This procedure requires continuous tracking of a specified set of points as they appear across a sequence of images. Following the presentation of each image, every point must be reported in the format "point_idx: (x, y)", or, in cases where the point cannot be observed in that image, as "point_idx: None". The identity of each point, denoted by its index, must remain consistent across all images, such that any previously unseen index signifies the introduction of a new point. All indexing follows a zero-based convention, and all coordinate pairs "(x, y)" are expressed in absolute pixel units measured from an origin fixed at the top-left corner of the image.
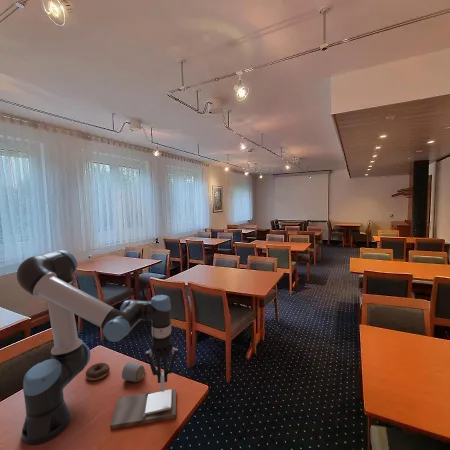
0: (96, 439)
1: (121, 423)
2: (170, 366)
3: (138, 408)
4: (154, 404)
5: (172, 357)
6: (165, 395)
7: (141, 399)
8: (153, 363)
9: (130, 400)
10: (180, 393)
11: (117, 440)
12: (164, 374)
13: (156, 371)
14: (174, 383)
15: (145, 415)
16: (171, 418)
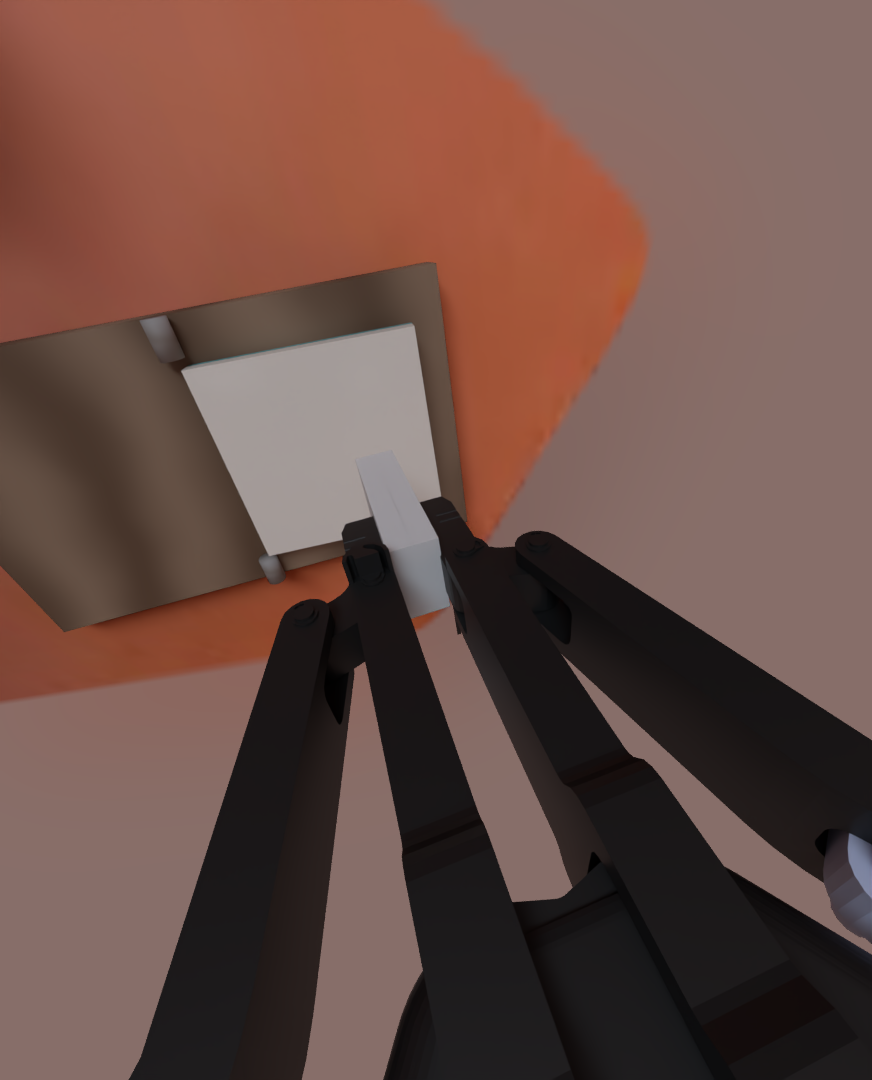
0: (44, 669)
1: (138, 611)
2: (591, 671)
3: (180, 498)
4: (310, 492)
5: (745, 814)
6: (374, 405)
7: (141, 405)
8: (320, 814)
9: (26, 419)
10: (467, 280)
11: (183, 653)
12: (459, 614)
13: (353, 656)
14: (385, 90)
15: None
16: None
